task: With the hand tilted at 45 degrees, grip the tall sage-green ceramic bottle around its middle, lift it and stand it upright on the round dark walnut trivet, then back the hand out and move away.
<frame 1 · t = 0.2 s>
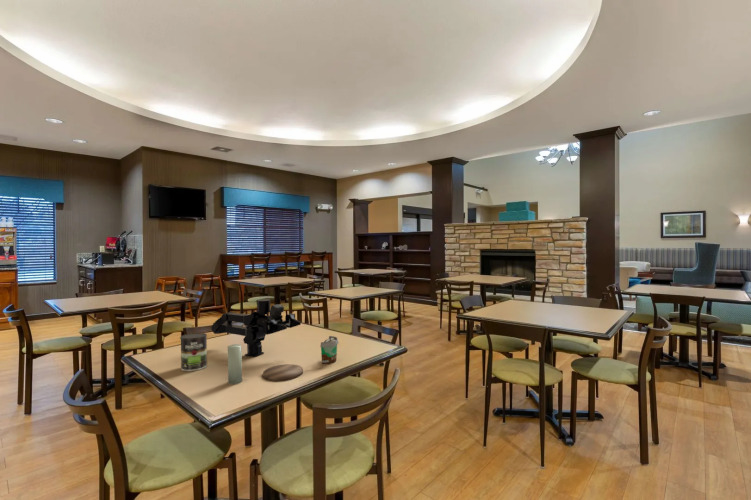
hand: (293, 325, 163), 17 cm above the table, tool horizontal, fingers open, 9 cm apart
coffee can: (194, 367, 158), on the table
trivet: (283, 373, 148), on the table
food container: (331, 361, 164), on the table
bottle: (235, 381, 140), on the table
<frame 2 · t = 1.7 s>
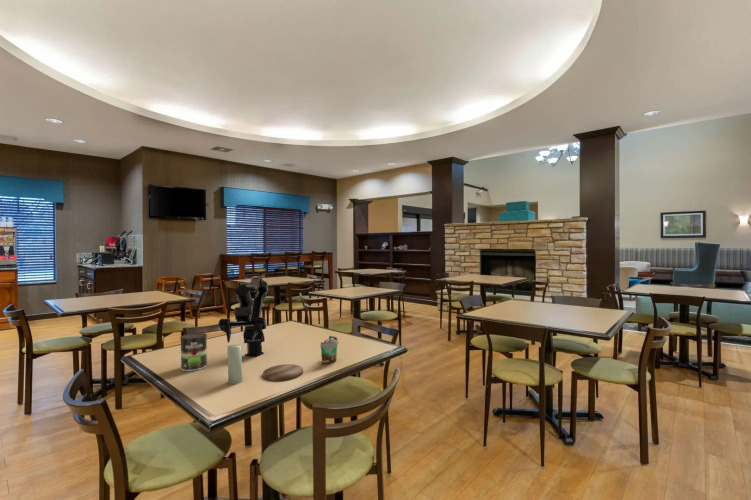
hand: (239, 341, 148), 14 cm above the table, tool tilted 45°, fingers open, 9 cm apart
nothing on the table moved.
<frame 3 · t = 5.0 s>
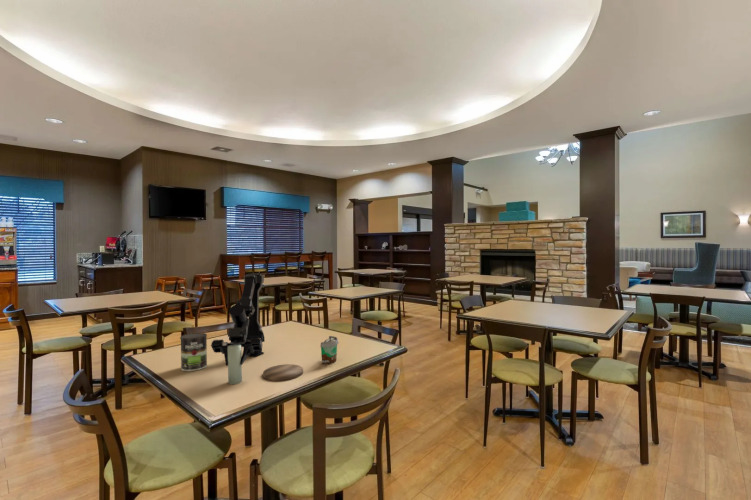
hand: (233, 364, 139), 7 cm above the table, tool tilted 45°, fingers closed on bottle, 5 cm apart
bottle: (235, 381, 140), on the table, touching gripper
everything else where it was.
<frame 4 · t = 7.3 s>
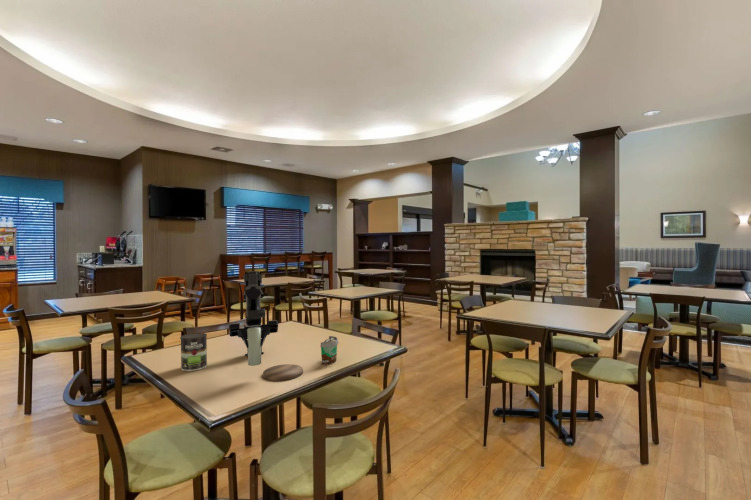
hand: (254, 346, 141), 13 cm above the table, tool tilted 45°, fingers closed on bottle, 5 cm apart
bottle: (254, 363, 142), point 6 cm above the table, touching gripper
everything else where it was.
when the fingers open (9 cm above the table, at t = 10.1 s): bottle stays where it is, resting on trivet.
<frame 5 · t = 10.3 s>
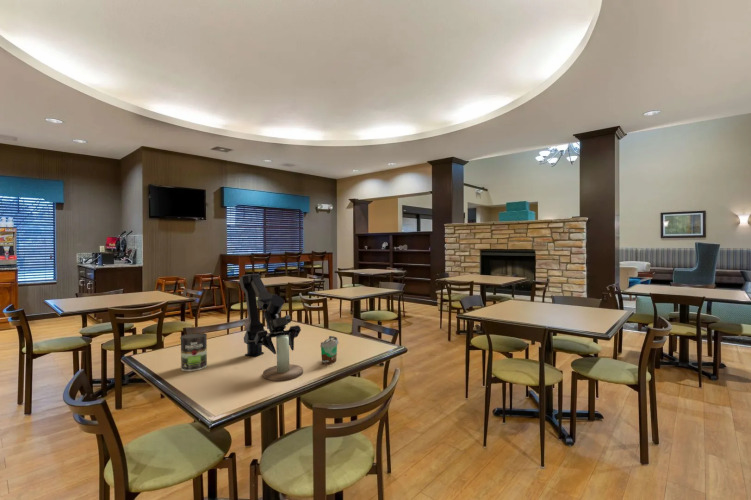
hand: (284, 351, 147), 9 cm above the table, tool tilted 45°, fingers open, 7 cm apart
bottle: (283, 370, 148), point 1 cm above the table, touching trivet
everything else where it was.
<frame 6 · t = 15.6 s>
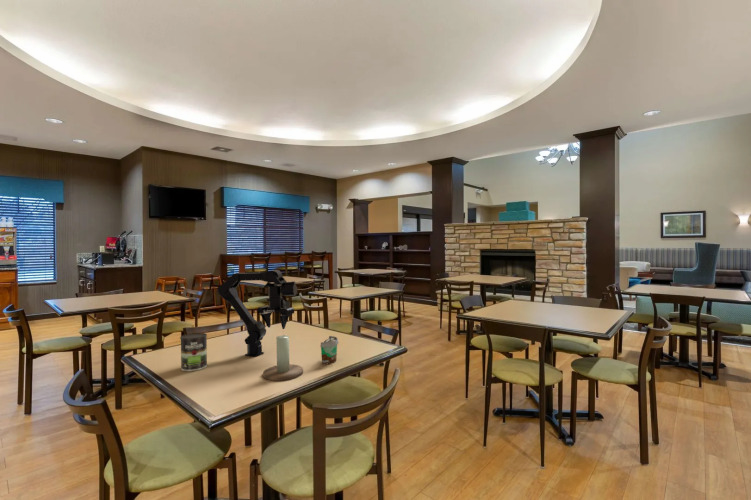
hand: (276, 328, 174), 13 cm above the table, tool pointing down, fingers open, 9 cm apart
nothing on the table moved.
at the end: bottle inside the target area on the trivet (0.1 cm from its centre), point 1.2 cm above the trivet's base; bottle tilted 0°; the gripper is holding nothing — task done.
